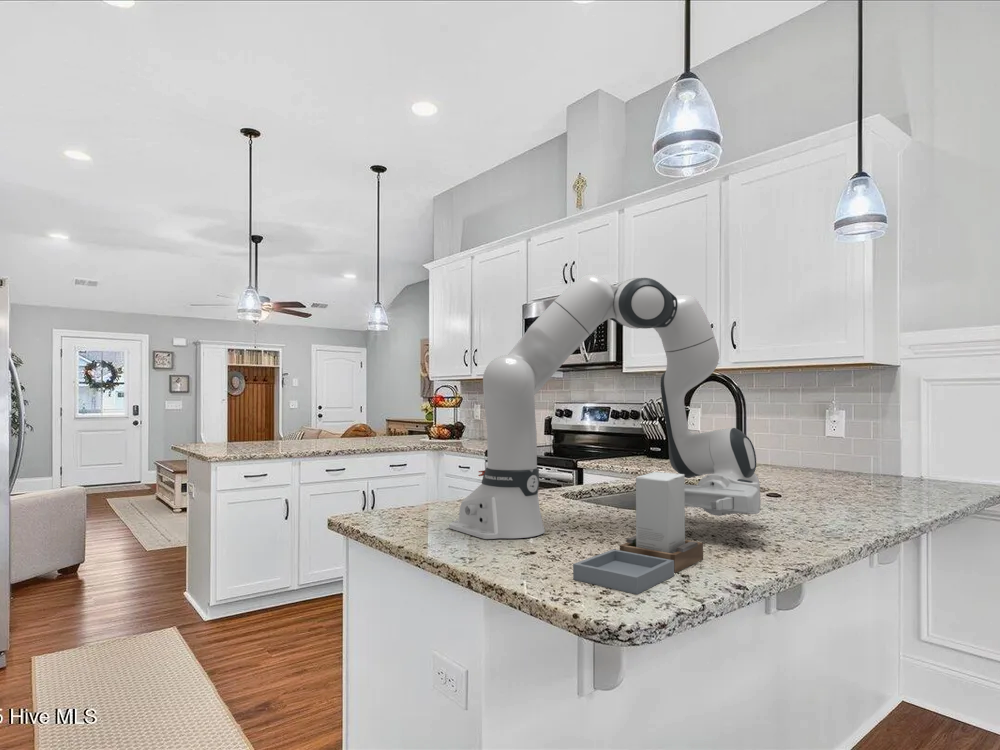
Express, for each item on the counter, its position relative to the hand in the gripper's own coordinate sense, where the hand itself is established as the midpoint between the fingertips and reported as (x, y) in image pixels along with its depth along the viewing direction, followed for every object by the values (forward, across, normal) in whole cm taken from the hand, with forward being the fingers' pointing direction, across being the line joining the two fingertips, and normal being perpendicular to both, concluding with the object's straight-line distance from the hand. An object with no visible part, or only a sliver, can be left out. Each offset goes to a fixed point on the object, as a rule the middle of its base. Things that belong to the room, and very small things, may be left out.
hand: (691, 502), depth 119 cm
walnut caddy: (+13, 0, +9) cm, 15 cm away
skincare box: (+13, 0, +9) cm, 16 cm away
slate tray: (+26, 0, +9) cm, 28 cm away
